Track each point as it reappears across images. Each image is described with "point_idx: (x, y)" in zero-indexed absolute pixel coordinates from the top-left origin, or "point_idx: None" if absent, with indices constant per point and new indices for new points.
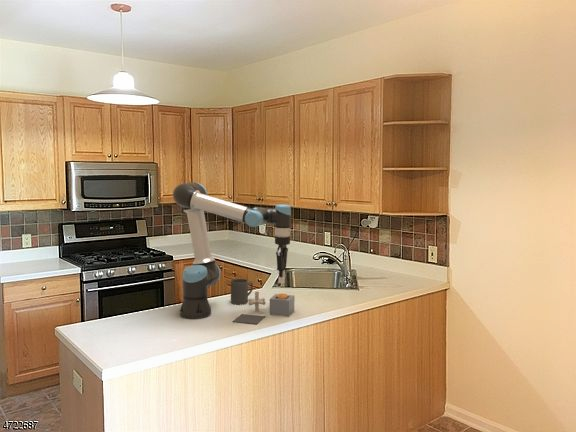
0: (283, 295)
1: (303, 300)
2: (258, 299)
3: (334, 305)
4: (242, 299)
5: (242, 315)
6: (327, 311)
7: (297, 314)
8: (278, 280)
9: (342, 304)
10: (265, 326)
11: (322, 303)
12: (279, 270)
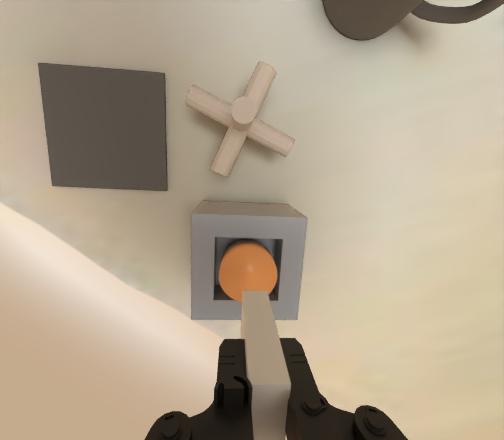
0: (236, 285)
1: (432, 281)
2: (239, 131)
3: (379, 394)
4: (340, 6)
5: (140, 84)
6: None
7: None
8: (243, 303)
9: (394, 414)
10: (49, 226)
11: (399, 353)
12: (207, 412)
